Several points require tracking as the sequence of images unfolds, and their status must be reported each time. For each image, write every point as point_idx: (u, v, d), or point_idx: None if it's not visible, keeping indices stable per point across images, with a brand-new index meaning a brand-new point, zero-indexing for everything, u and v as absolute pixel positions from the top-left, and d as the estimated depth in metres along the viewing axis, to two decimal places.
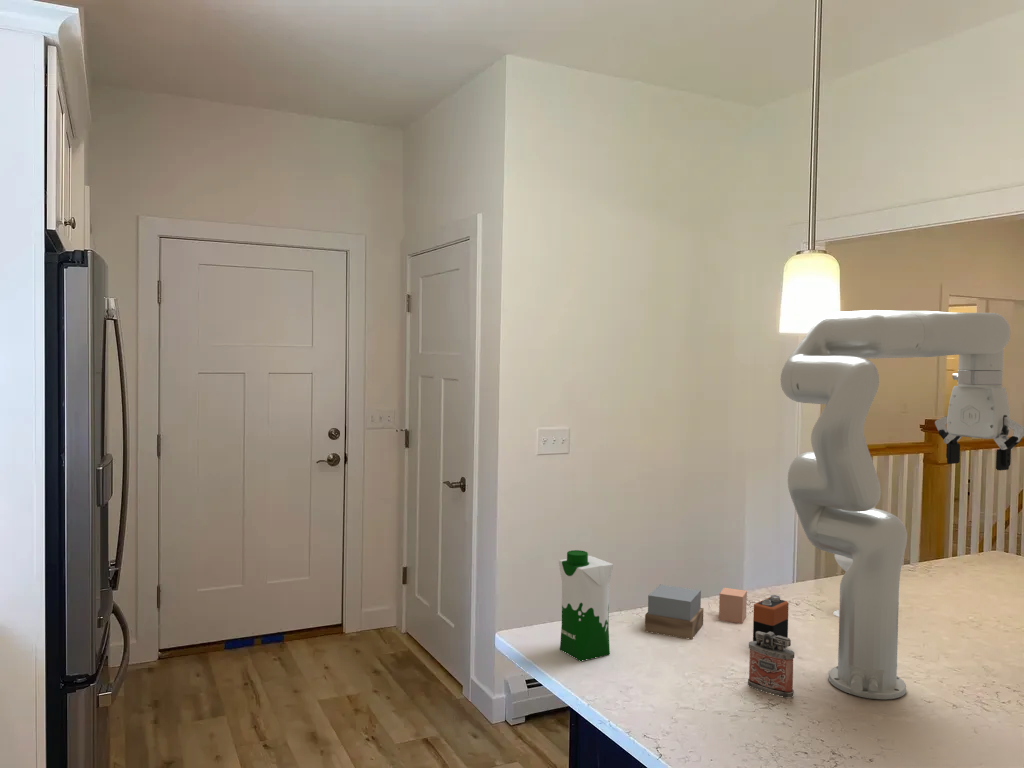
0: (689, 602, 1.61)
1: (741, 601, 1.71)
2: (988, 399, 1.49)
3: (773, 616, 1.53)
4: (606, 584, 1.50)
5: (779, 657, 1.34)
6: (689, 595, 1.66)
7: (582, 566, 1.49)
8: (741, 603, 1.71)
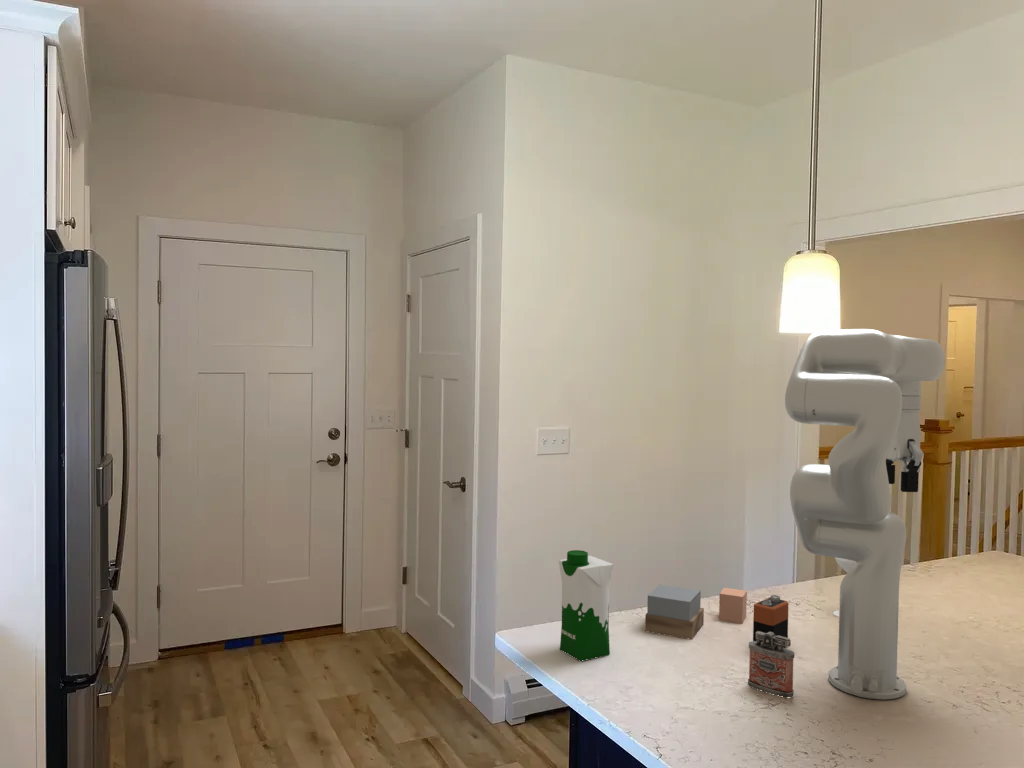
0: (688, 602, 1.61)
1: (741, 601, 1.71)
2: None
3: (773, 616, 1.53)
4: (606, 584, 1.50)
5: (779, 657, 1.34)
6: (689, 595, 1.66)
7: (582, 566, 1.49)
8: (741, 603, 1.71)
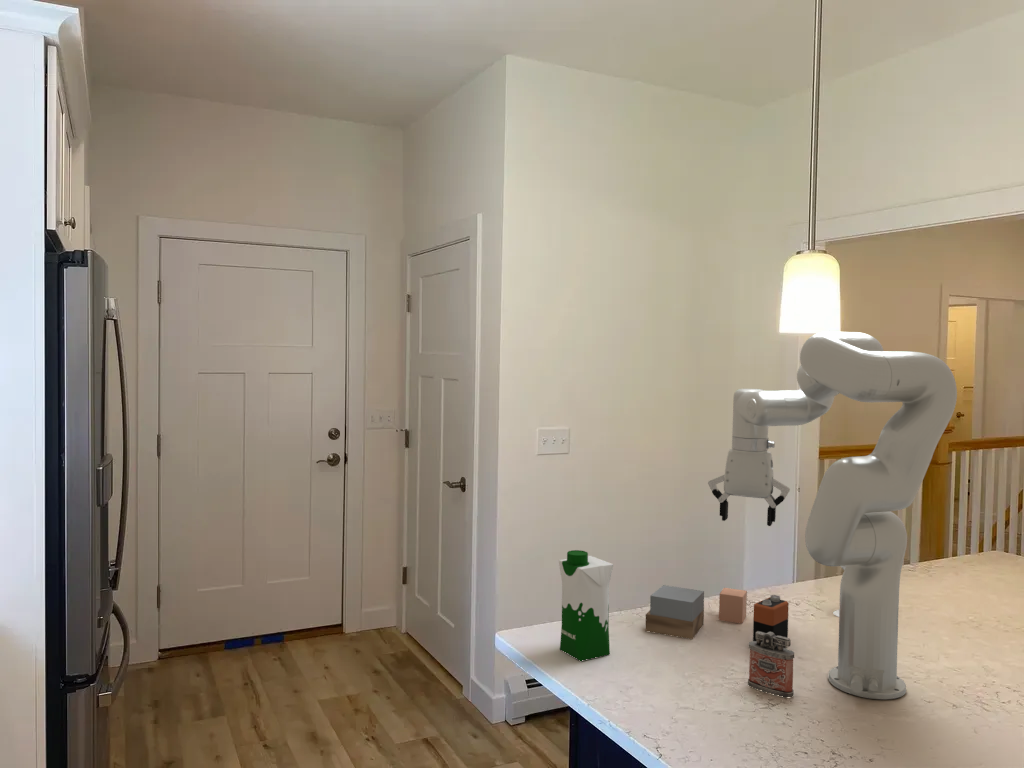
0: (691, 603, 1.61)
1: (741, 601, 1.70)
2: None
3: (773, 616, 1.53)
4: (606, 584, 1.50)
5: (779, 657, 1.34)
6: (692, 595, 1.65)
7: (582, 566, 1.49)
8: (741, 603, 1.70)
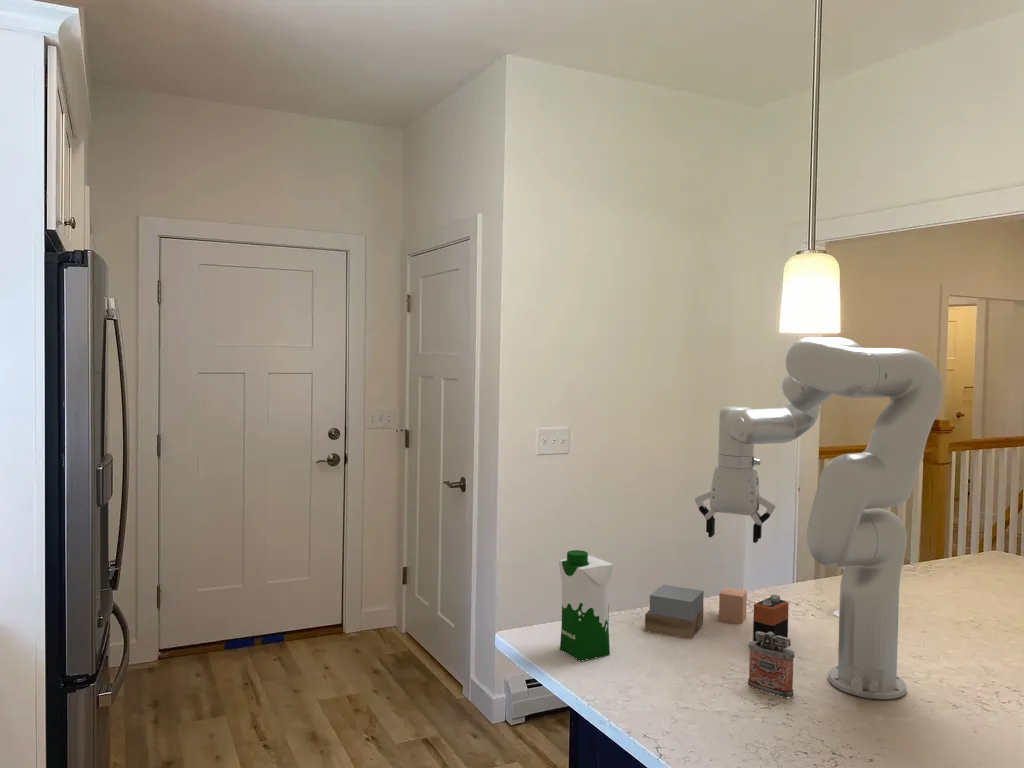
0: (690, 602, 1.61)
1: (741, 601, 1.71)
2: None
3: (773, 616, 1.53)
4: (606, 584, 1.50)
5: (779, 657, 1.34)
6: (691, 595, 1.66)
7: (582, 566, 1.49)
8: (741, 603, 1.71)
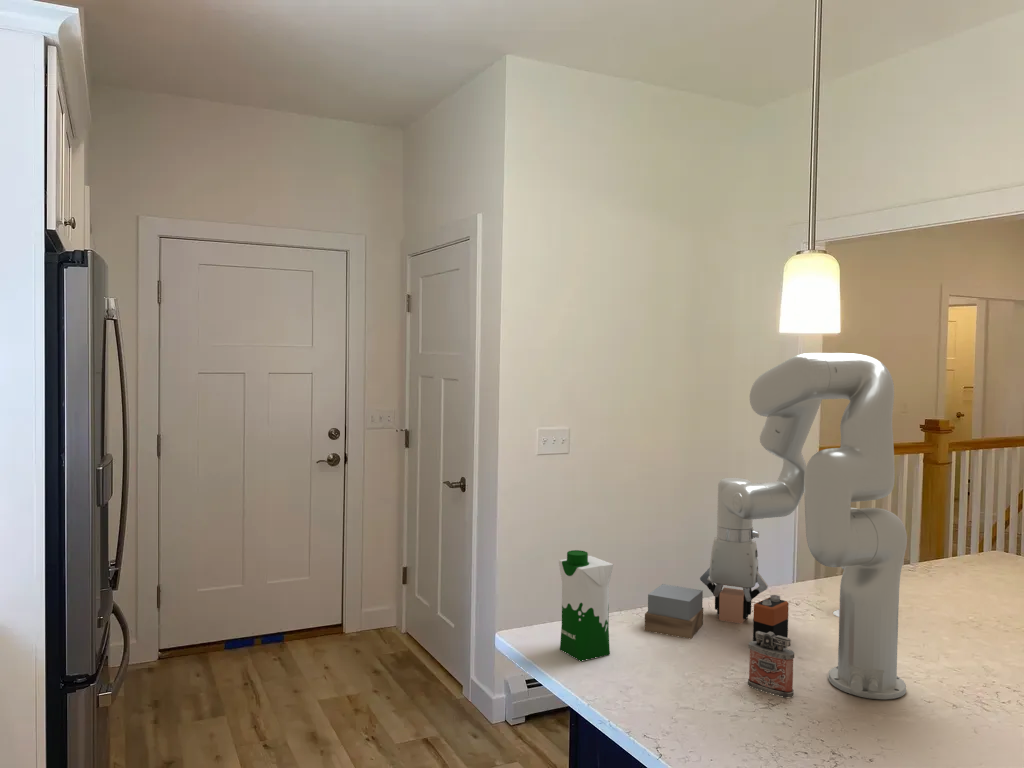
0: (688, 602, 1.61)
1: (741, 601, 1.71)
2: None
3: (773, 616, 1.53)
4: (606, 584, 1.50)
5: (779, 657, 1.34)
6: (689, 594, 1.66)
7: (582, 566, 1.49)
8: (741, 603, 1.71)
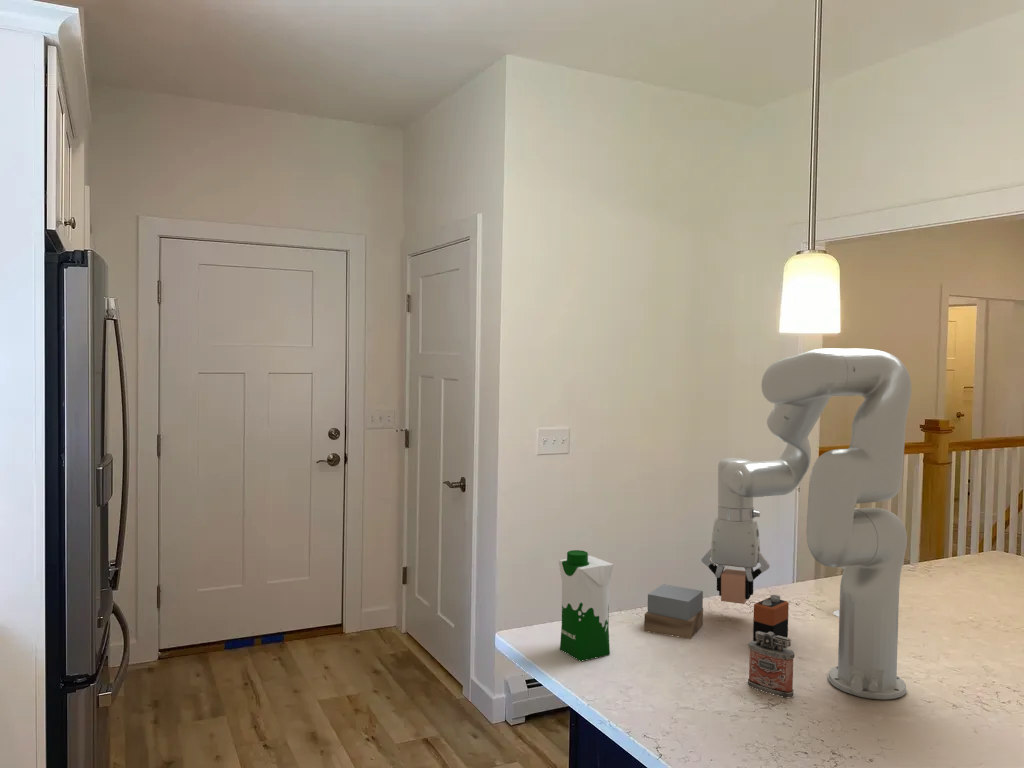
0: (687, 602, 1.62)
1: (743, 581, 1.70)
2: None
3: (773, 616, 1.53)
4: (606, 584, 1.50)
5: (779, 657, 1.34)
6: (689, 595, 1.66)
7: (582, 566, 1.49)
8: (743, 583, 1.70)
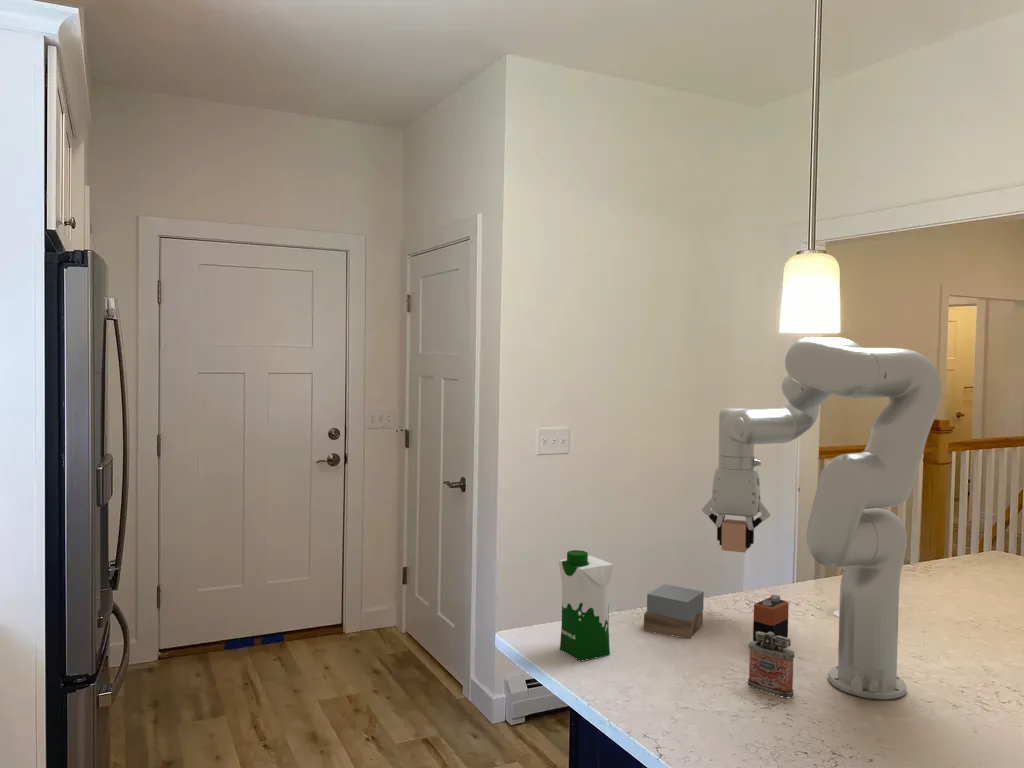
0: (686, 602, 1.61)
1: (743, 529, 1.70)
2: None
3: (773, 616, 1.53)
4: (606, 584, 1.50)
5: (779, 657, 1.34)
6: (689, 595, 1.65)
7: (582, 566, 1.49)
8: (743, 531, 1.70)
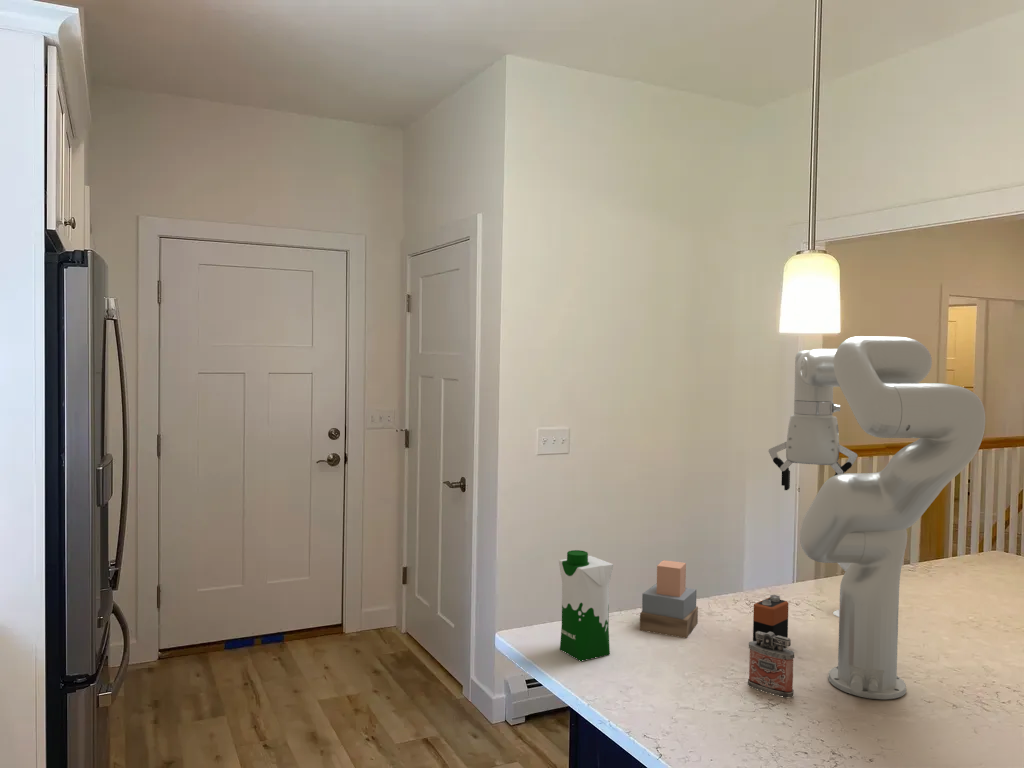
0: (682, 601, 1.62)
1: (679, 573, 1.64)
2: None
3: (773, 616, 1.53)
4: (606, 584, 1.50)
5: (779, 657, 1.34)
6: (683, 593, 1.67)
7: (582, 566, 1.49)
8: (679, 575, 1.64)
